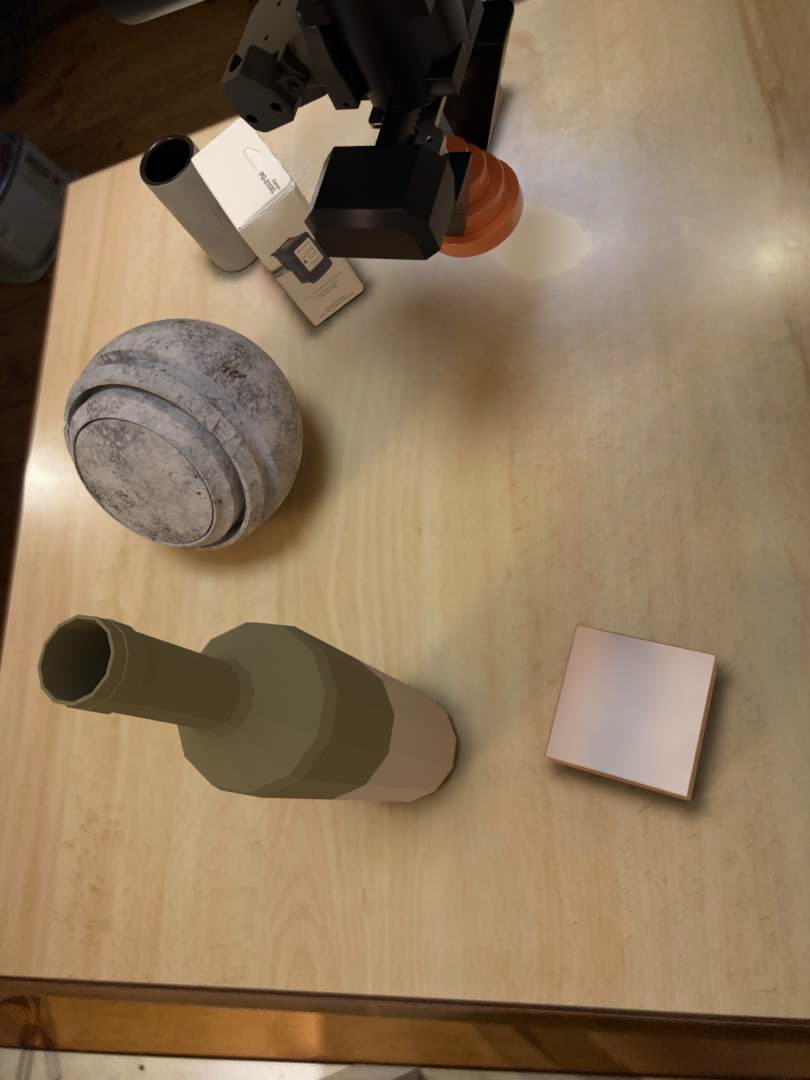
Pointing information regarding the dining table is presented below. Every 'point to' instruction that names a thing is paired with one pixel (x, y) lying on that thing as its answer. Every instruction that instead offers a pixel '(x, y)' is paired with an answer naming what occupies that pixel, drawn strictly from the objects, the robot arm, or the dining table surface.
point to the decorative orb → (185, 433)
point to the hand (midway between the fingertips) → (466, 195)
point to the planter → (193, 201)
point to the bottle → (260, 709)
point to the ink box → (274, 220)
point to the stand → (633, 710)
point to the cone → (485, 203)
